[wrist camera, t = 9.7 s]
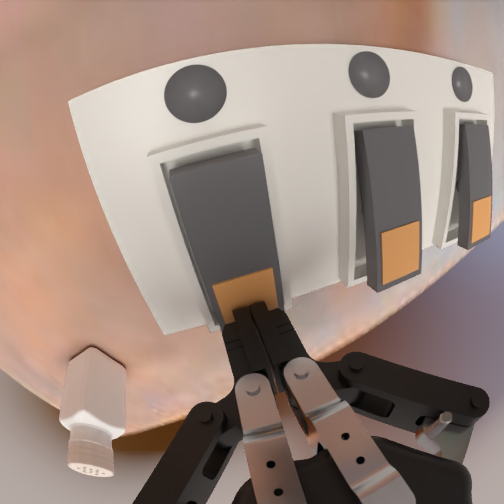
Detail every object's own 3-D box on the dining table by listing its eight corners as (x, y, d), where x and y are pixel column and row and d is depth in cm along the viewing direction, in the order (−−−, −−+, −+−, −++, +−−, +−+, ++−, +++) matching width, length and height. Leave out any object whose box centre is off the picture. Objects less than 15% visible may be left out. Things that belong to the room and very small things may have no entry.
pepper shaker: (101, 382, 21) (99, 480, 13) (66, 359, 18) (52, 463, 10) (129, 367, 20) (132, 475, 12) (92, 341, 18) (79, 458, 10)
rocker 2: (473, 124, 13) (489, 125, 12) (476, 232, 16) (490, 238, 15) (448, 123, 13) (466, 124, 11) (453, 243, 16) (468, 250, 14)
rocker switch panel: (464, 68, 14) (502, 75, 10) (458, 208, 21) (489, 228, 17) (88, 99, 11) (58, 101, 7) (163, 301, 18) (164, 348, 14)
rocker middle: (395, 126, 12) (414, 125, 11) (405, 264, 15) (421, 273, 14) (346, 131, 12) (363, 130, 10) (363, 281, 15) (378, 293, 13)
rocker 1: (251, 145, 10) (263, 154, 9) (276, 296, 15) (285, 315, 14) (169, 166, 10) (169, 179, 9) (217, 314, 15) (223, 335, 13)
